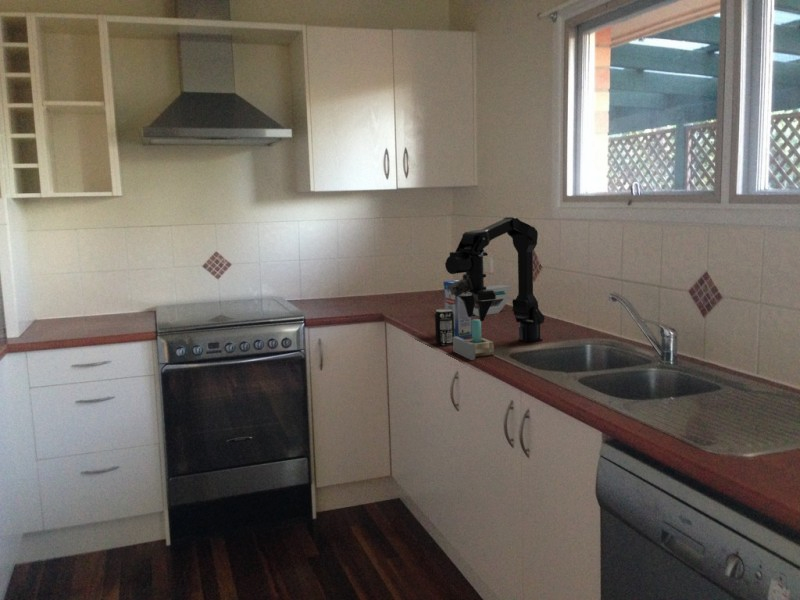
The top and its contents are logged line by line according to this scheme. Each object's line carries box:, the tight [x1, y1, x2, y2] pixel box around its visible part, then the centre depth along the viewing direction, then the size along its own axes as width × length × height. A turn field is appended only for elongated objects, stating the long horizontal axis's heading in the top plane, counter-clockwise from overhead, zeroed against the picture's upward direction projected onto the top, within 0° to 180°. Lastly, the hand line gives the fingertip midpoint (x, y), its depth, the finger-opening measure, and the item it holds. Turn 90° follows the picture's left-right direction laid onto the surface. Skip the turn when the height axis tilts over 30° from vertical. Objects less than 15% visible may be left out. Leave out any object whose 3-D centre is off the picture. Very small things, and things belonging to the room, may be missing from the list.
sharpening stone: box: [472, 284, 512, 317], centre depth 313 cm, size 25×8×11 cm, turn 117°
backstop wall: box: [452, 336, 476, 361], centre depth 234 cm, size 2×14×5 cm, turn 19°
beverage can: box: [434, 308, 455, 346], centre depth 253 cm, size 7×7×12 cm
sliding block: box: [466, 337, 495, 358], centre depth 236 cm, size 8×8×4 cm
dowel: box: [471, 318, 482, 343], centre depth 235 cm, size 3×3×10 cm
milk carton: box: [443, 279, 473, 339], centre depth 266 cm, size 10×6×20 cm, turn 23°
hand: (475, 318), depth 234 cm, fingers open, 9 cm apart
